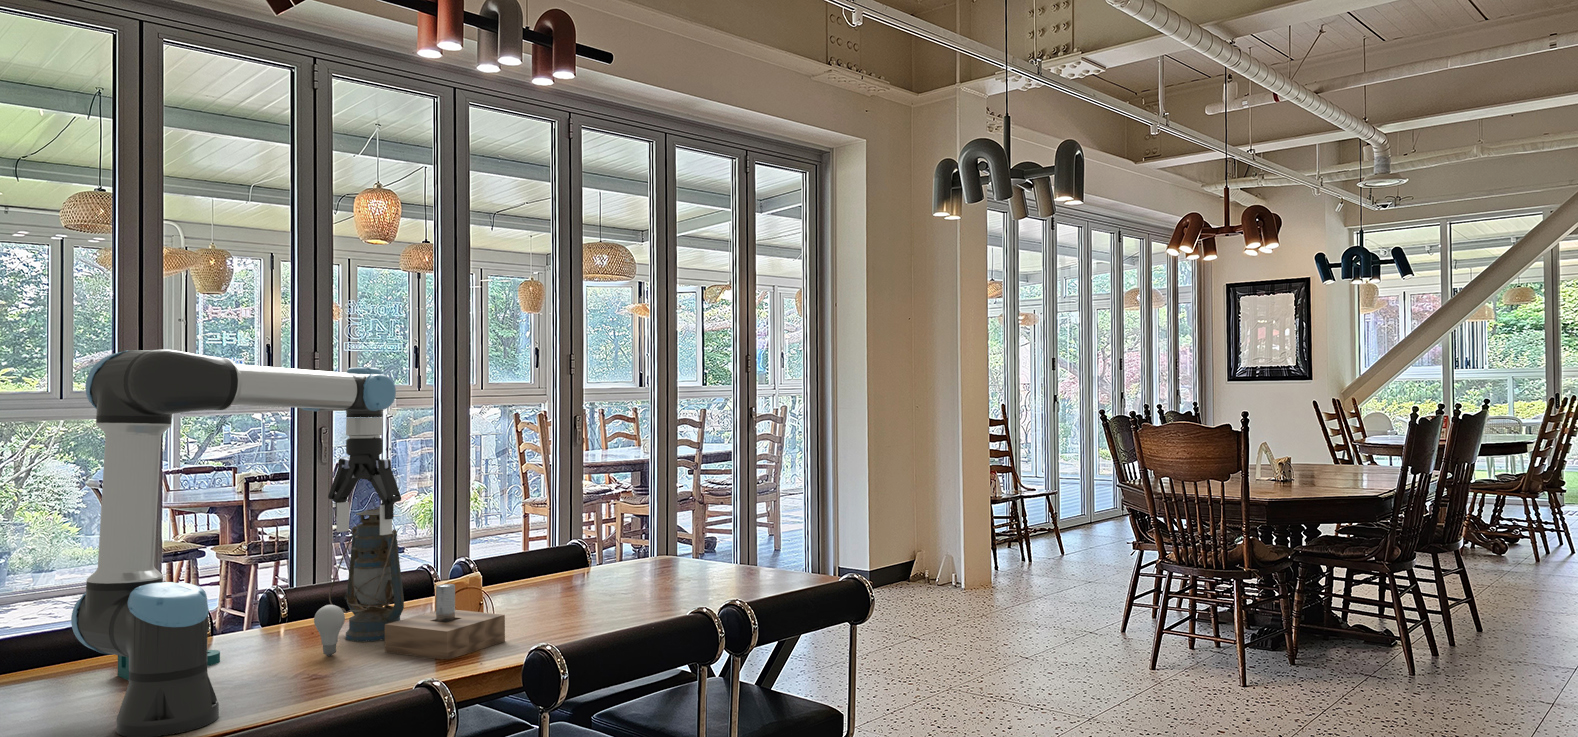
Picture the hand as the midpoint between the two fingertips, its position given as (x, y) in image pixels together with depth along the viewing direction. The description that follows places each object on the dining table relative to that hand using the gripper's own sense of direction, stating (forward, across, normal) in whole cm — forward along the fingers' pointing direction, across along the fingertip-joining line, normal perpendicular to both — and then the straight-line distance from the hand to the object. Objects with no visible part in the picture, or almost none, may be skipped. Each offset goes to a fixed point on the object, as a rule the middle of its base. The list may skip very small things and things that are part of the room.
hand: (364, 533), depth 230 cm
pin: (+24, -14, -10) cm, 30 cm away
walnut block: (+26, -15, -10) cm, 31 cm away
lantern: (+26, +9, -10) cm, 29 cm away
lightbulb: (+26, +2, +7) cm, 27 cm away
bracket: (+26, +24, +28) cm, 45 cm away
